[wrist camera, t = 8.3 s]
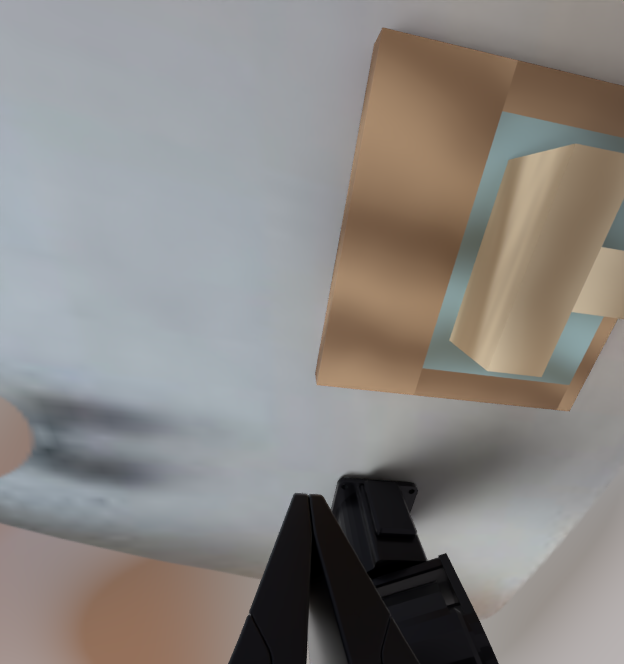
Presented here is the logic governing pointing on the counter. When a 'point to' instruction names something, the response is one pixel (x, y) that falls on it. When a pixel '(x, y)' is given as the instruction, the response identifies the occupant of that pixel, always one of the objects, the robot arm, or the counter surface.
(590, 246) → the t block
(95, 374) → the counter surface
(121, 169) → the counter surface
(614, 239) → the push board
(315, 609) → the robot arm
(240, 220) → the counter surface
